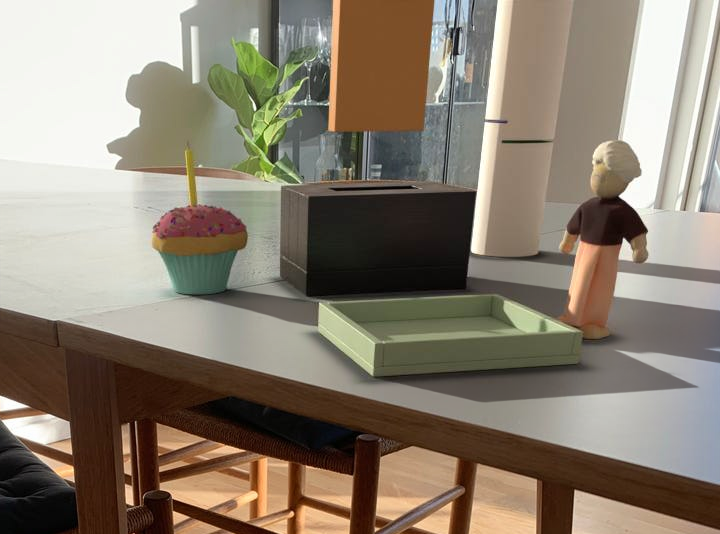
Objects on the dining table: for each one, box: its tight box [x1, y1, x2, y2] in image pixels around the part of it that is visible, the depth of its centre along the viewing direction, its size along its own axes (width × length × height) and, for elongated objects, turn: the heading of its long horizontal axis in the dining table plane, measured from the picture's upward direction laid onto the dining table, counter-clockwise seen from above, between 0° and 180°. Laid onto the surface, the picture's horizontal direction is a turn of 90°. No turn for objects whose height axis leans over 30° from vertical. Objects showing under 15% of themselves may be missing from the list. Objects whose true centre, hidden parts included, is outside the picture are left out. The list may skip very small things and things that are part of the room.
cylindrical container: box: [470, 0, 575, 258], centre depth 97 cm, size 7×7×25 cm
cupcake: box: [151, 139, 249, 296], centre depth 83 cm, size 9×8×12 cm
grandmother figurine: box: [554, 139, 649, 340], centre depth 67 cm, size 8×4×13 cm, turn 40°
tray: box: [317, 293, 583, 378], centre depth 66 cm, size 14×13×2 cm
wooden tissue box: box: [279, 180, 477, 297], centre depth 87 cm, size 16×10×8 cm, turn 101°
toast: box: [327, 0, 436, 133], centre depth 79 cm, size 8×2×11 cm, turn 101°
